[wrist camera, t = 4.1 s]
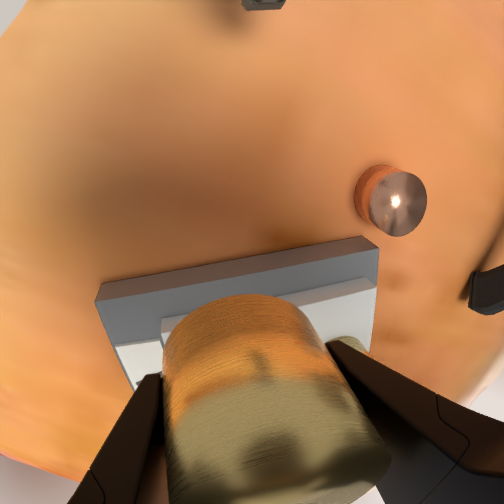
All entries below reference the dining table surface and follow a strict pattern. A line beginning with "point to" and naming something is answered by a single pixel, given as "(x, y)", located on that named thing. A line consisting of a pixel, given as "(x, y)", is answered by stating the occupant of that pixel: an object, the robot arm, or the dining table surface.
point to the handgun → (487, 291)
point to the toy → (262, 4)
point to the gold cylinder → (262, 411)
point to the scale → (237, 283)
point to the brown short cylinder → (391, 199)
